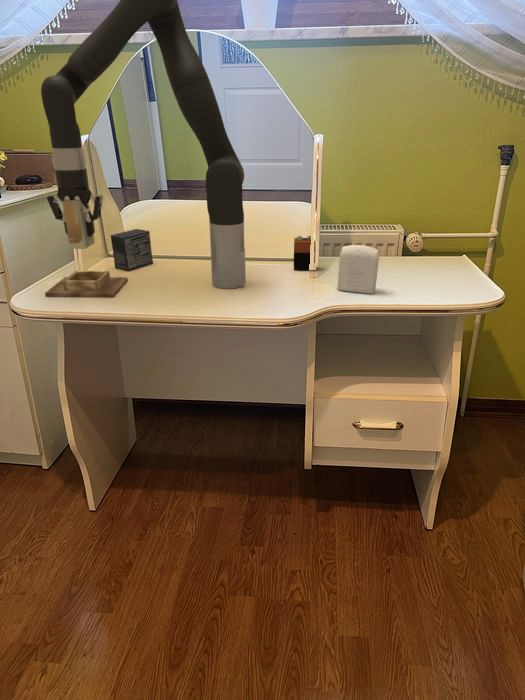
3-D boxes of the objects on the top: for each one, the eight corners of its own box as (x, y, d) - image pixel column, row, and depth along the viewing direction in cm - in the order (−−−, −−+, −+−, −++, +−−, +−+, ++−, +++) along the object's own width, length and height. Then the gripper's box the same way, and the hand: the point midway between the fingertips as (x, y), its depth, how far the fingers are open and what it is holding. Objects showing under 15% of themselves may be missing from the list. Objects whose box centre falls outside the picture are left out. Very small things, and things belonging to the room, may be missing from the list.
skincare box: (80, 243, 140) (73, 196, 134) (95, 243, 139) (88, 196, 134) (69, 249, 134) (60, 200, 129) (84, 249, 133) (77, 201, 128)
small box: (139, 260, 167) (136, 227, 162) (154, 263, 163) (150, 230, 159) (113, 268, 159) (109, 234, 154) (128, 271, 156) (124, 237, 151)
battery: (316, 271, 156) (317, 238, 152) (293, 271, 156) (294, 238, 152) (315, 267, 160) (316, 234, 156) (293, 266, 160) (294, 234, 156)
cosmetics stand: (127, 280, 148) (126, 268, 146) (113, 297, 135) (112, 284, 133) (65, 280, 148) (63, 268, 146) (45, 296, 135) (43, 284, 134)
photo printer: (376, 290, 140) (380, 244, 135) (374, 295, 136) (379, 249, 131) (338, 286, 143) (341, 242, 138) (335, 291, 139) (338, 245, 134)
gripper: (103, 165, 131) (112, 232, 138) (47, 165, 131) (59, 232, 139) (94, 169, 124) (103, 239, 132) (35, 168, 125) (48, 239, 132)
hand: (80, 235), depth 135 cm, fingers closed on skincare box, 4 cm apart
